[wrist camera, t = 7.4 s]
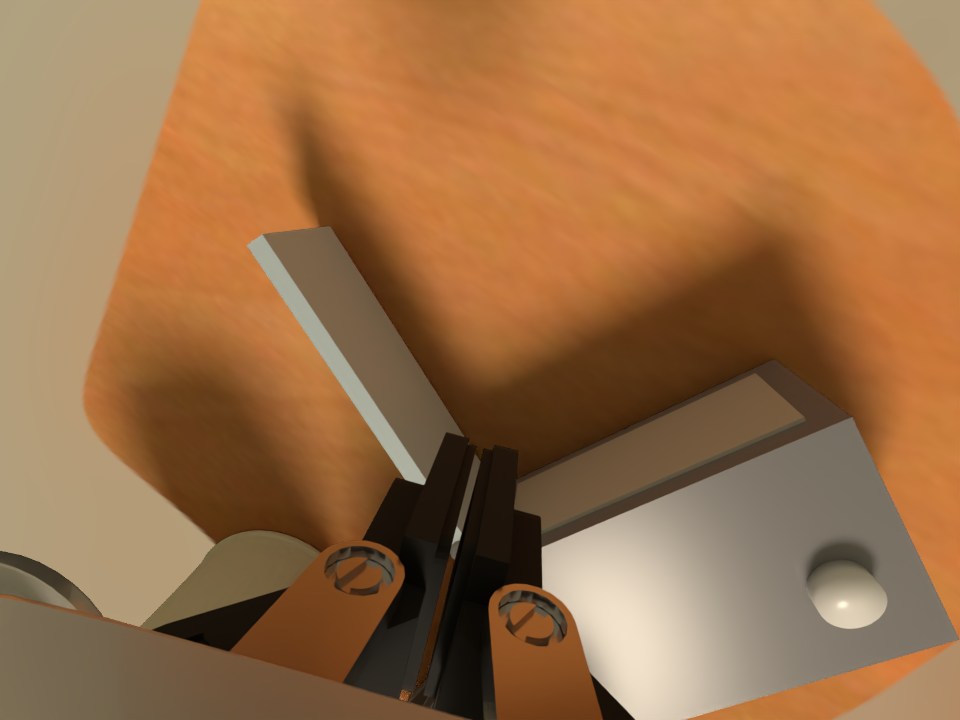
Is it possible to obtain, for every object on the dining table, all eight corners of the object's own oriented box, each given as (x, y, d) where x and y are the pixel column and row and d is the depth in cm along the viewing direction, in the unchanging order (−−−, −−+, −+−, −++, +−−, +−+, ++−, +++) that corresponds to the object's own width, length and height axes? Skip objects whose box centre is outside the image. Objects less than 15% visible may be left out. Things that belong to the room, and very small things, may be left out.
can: (176, 605, 30) (-53, 848, 19) (242, 497, 27) (16, 710, 16) (309, 691, 31) (162, 978, 19) (387, 594, 28) (268, 867, 16)
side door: (499, 484, 24) (484, 558, 19) (472, 497, 25) (450, 572, 20) (333, 223, 22) (266, 231, 17) (306, 241, 22) (233, 254, 17)
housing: (548, 642, 27) (544, 780, 21) (455, 504, 26) (420, 608, 19) (860, 530, 23) (977, 659, 16) (772, 355, 21) (864, 423, 15)
